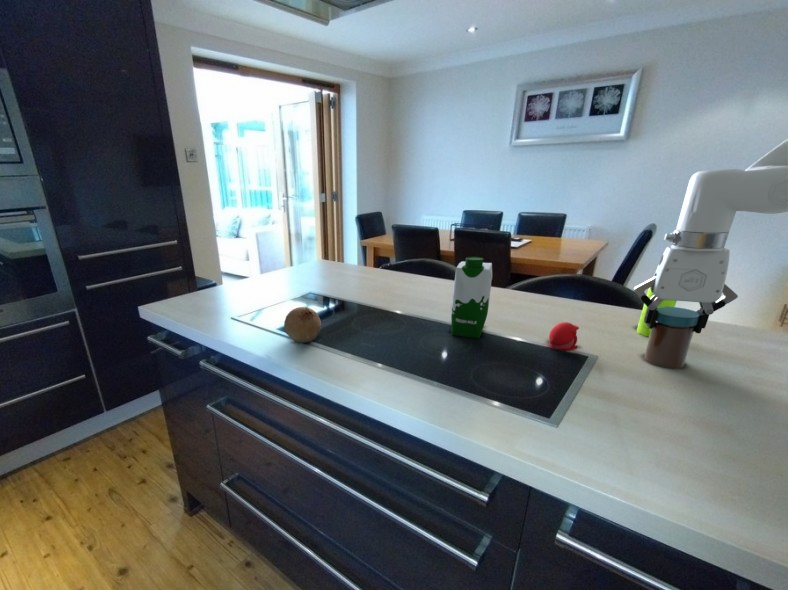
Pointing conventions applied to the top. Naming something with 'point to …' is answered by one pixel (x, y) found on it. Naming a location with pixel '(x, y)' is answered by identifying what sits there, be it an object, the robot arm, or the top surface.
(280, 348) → the top surface
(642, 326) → the soap dispenser
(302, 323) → the brown round piece
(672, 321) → the lid
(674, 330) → the jar
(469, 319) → the milk carton
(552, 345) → the cap
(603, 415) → the top surface
